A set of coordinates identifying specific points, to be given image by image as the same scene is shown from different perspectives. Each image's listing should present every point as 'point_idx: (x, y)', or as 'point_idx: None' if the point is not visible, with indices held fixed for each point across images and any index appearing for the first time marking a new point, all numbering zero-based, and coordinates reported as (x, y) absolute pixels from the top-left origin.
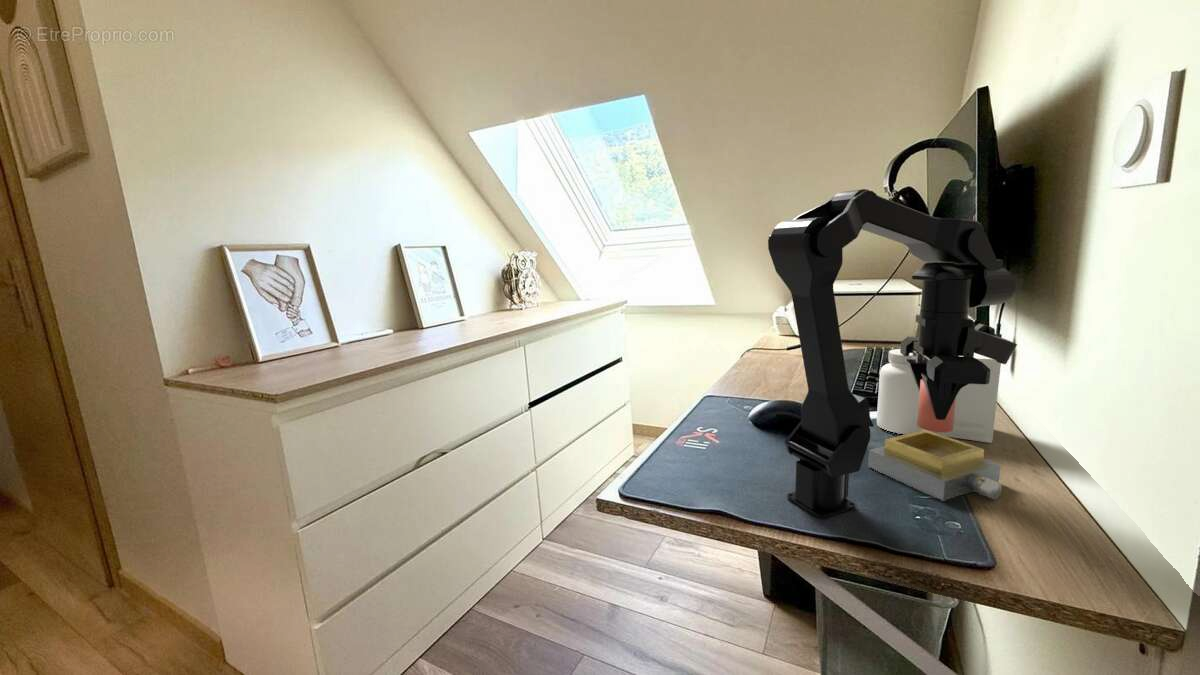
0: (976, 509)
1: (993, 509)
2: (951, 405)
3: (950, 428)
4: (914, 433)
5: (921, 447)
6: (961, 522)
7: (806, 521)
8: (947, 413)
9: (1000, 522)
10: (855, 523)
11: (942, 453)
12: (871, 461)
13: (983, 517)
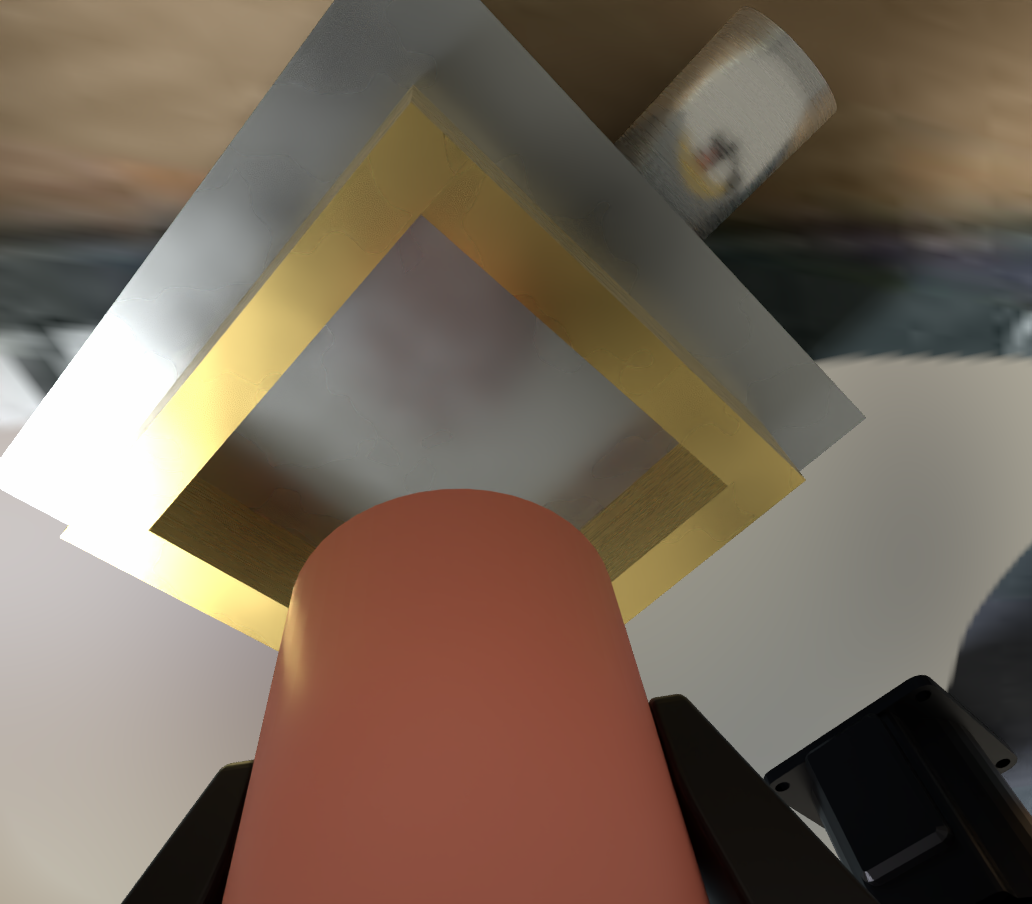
0: (871, 197)
1: (861, 93)
2: (837, 861)
3: (574, 542)
4: (233, 606)
5: (278, 496)
6: (1021, 302)
7: (1015, 774)
8: (736, 755)
9: (1020, 95)
10: (1029, 663)
11: (341, 374)
12: None
13: (965, 179)
